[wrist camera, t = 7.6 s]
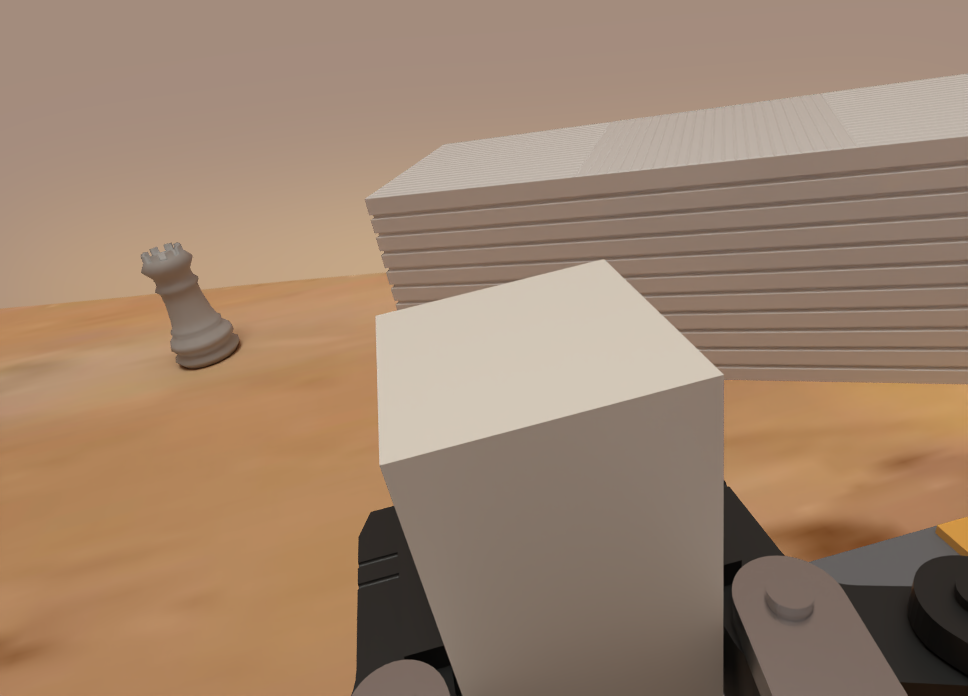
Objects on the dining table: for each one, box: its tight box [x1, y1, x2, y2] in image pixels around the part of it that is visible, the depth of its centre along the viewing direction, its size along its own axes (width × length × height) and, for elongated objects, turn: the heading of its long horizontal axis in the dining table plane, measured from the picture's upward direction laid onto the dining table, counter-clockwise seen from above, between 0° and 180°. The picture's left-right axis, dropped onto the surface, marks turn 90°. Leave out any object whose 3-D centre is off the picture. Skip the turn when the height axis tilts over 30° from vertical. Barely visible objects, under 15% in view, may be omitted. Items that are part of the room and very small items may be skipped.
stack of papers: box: [365, 74, 968, 384], centre depth 31 cm, size 32×11×11 cm, turn 71°
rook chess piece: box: [141, 243, 239, 368], centre depth 41 cm, size 4×4×8 cm
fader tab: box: [376, 259, 724, 696], centre depth 9 cm, size 6×5×12 cm
